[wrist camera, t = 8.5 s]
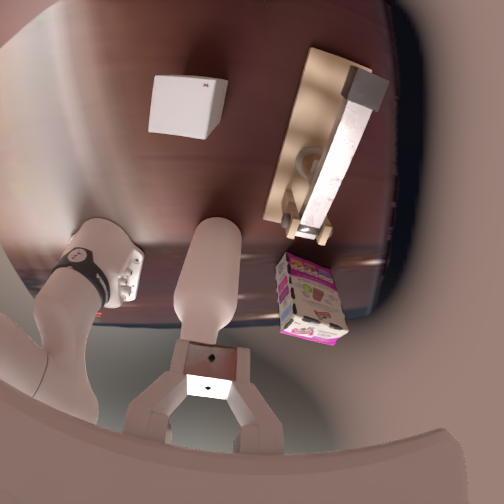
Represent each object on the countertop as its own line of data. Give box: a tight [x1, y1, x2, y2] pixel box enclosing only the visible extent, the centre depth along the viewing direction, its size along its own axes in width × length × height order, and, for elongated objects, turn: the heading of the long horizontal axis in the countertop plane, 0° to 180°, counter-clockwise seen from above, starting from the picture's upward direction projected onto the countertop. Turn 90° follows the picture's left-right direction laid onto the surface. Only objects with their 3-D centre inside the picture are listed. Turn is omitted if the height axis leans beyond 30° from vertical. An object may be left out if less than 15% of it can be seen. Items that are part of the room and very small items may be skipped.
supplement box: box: [148, 75, 228, 139], centre depth 31 cm, size 7×7×13 cm
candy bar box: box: [275, 252, 349, 345], centre depth 49 cm, size 11×5×16 cm, turn 65°
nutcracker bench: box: [263, 47, 372, 246], centre depth 36 cm, size 30×10×12 cm, turn 167°
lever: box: [295, 65, 390, 240], centre depth 31 cm, size 24×4×5 cm, turn 168°
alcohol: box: [174, 217, 242, 344], centre depth 39 cm, size 9×9×30 cm
